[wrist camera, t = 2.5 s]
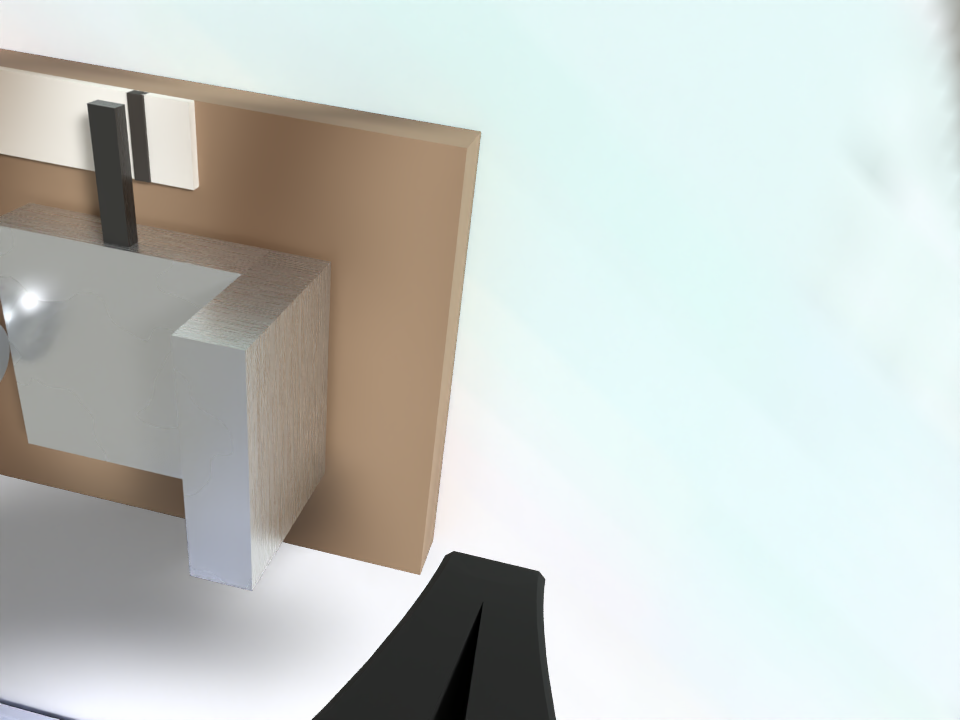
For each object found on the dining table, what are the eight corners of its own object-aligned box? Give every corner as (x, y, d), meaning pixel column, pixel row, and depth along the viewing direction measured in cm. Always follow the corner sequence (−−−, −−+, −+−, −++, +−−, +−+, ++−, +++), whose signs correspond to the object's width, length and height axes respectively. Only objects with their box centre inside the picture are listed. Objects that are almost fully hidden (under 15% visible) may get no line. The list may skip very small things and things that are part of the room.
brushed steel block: (334, 128, 14) (240, 190, 11) (324, 472, 18) (252, 591, 15) (-91, 53, 15) (-286, 91, 12) (-16, 395, 19) (-150, 491, 16)
